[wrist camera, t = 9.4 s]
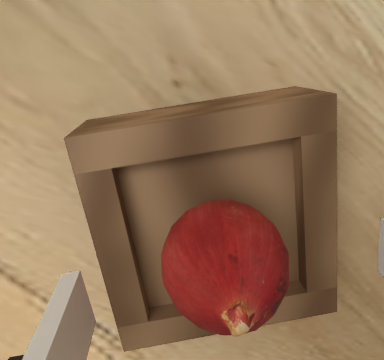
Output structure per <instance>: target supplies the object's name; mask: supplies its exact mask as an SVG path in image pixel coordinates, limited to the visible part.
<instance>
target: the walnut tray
mask: <svg viewBox="0 0 384 360" xmlns="http://www.w3.org/2000/svg"><path fill="white" fill-rule="evenodd" d="M64 141H65V144H66V148H67V151H68V155H69V158H70V162H71V165H72V169H73V172H74V176H75V180H76V183H77V187H78V190H79V194H80V197H81V201H82V204H83V208H84V211H85V215H86V219H87V222H88V226H89V229H90V233H91V236H92V240H93V243H94V247H95V250H96V254H97V258H98V261H99V265H100V268H101V272H102V275H103V279H104V282H105V286H106V289H107V293H108V297H109V300H110V304H111V307H112V311H113V314H114V318H115V321H116V325H117V328H118V332H119V336H120V339H121V343H122V346H123V350H124V351H130V350H135V349H140V348H146V347H151V346H156V345H162V344H167V343H172V342H178V341H183V340H188V339H194V338H199V337H204V336H210V335H215V334H216V333H213V332H210V331H206V330H203V329H201V328H199V327H197V326H196V325H195V324H193V323H192V322H191V321H190V320H188V319H187V318H186V317H184V316H183V315H182V314H181V313H180V312H179V311H177V309H176V307H175V305H174V303H173V302H172V300H171V298H170V296H169V294H168V292H167V290H166V289H165V287H164V284H163V279H162V266H161V254H162V250H163V246H164V243H165V240H166V238H167V236H168V233H169V231H170V228H171V226H172V225H173V224H174V223H175V222H176V221H177V220H178V219H179V218H180V217H181V216H182V215H183V214H184V213H185V212H186V211H187V210H188V209H191V208H193V207H195V206H198V205H200V204H202V203H205V202H207V201H213V200H228V199H232V200H235V201H238V202H241V203H244V204H247V205H250V206H252V207H253V208H255V209H257V210H258V211H259V212H260V213H262V214H263V215H264V216H265V217H266V218H268V219H269V220H270V221H271V222H272V223H273V224H274V225H275V226H276V228H277V230H278V231H279V233H280V235H281V238H282V240H283V242H284V244H285V246H286V248H287V250H288V252H289V287H288V290H287V293H286V294H285V296H284V298H283V300H282V302H281V304H280V306H279V308H278V309H277V311H276V313H275V314H274V316H273V317H272V318H270V319H269V320H268V321H267V322H265V323H264V324H263V325H268V324H274V323H279V322H284V321H290V320H295V319H300V318H306V317H311V316H316V315H322V314H327V313H332V312H337V94H336V93H330V92H324V91H319V90H313V89H307V88H302V87H296V86H295V87H289V88H282V89H276V90H270V91H264V92H258V93H252V94H245V95H239V96H233V97H227V98H221V99H214V100H208V101H202V102H196V103H190V104H184V105H177V106H171V107H165V108H159V109H153V110H147V111H140V112H134V113H128V114H122V115H116V116H110V117H103V118H97V119H91V120H86V121H85V122H84V123H83V124H81V125H80V126H79V127H77V128H76V129H75V130H74V131H72V132H71V133H70V134H69V135H67V136H66V137H65V138H64ZM263 325H262V326H263Z"/></svg>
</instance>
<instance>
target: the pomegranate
mask: <svg viewBox="0 0 384 360" xmlns="http://www.w3.org/2000/svg"><path fill="white" fill-rule="evenodd" d="M161 266H162V279H163V284H164V287H165V289H166V290H167V292H168V294H169V296H170V298H171V300H172V302H173V303H174V305H175V307H176V309H177V311H179V312H180V313H181V314H182V315H183V316H184V317H186V318H187V319H188V320H190V321H191V322H192V323H193V324H195V325H196V326H197V327H199V328H201V329H203V330H206V331H210V332H213V333H216V334H219V335H232V336H240V335H243V334H245V333H248V332H252V331H255V330H257V329H258V328H259V327H261V326H262V325H263V324H264V323H265V322H267V321H268V320H269V319H270V318H272V317H273V316H274V314H275V313H276V311H277V309H278V308H279V306H280V304H281V302H282V300H283V298H284V296H285V294H286V293H287V290H288V287H289V252H288V250H287V248H286V246H285V244H284V242H283V240H282V238H281V235H280V233H279V231H278V230H277V228H276V226H275V225H274V224H273V223H272V222H271V221H270V220H269V219H268V218H266V217H265V216H264V215H263V214H262V213H260V212H259V211H258V210H257V209H255V208H253V207H252V206H250V205H247V204H244V203H241V202H238V201H235V200H232V199H228V200H213V201H207V202H205V203H202V204H200V205H198V206H195V207H193V208H191V209H188V210H187V211H186V212H185V213H184V214H183V215H182V216H181V217H180V218H179V219H178V220H177V221H176V222H175V223H174V224H173V225H172V226H171V228H170V231H169V233H168V236H167V238H166V240H165V243H164V246H163V250H162V254H161Z"/></svg>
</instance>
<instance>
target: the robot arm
mask: <svg viewBox="0 0 384 360" xmlns="http://www.w3.org/2000/svg"><path fill="white" fill-rule="evenodd" d="M378 272H379V273H380V274H381V275H382V276H383V277H384V218H380V236H379V254H378ZM95 323H96V320H95V317H94V314H93V310H92V307H91V304H90V301H89V298H88V294H87V291H86V288H85V285H84V282H83V278H82V275H81V272H80V271H74V272H68V273H62V275H61V277H60V279H59V281H58V283H57V285H56V288H55V290H54V292H53V294H52V296H51V298H50V300H49V303H48V305H47V307H46V309H45V311H44V313H43V316H42V318H41V320H40V322H39V324H38V326H37V328H36V331H35V333H34V335H33V337H32V339H31V341H30V344H29V346H28V348H27V350H26V352H25V354H24V355H20V356H15V357H10V358H9V359H8V360H86V359H87V355H88V351H89V347H90V343H91V339H92V335H93V331H94V327H95Z"/></svg>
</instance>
